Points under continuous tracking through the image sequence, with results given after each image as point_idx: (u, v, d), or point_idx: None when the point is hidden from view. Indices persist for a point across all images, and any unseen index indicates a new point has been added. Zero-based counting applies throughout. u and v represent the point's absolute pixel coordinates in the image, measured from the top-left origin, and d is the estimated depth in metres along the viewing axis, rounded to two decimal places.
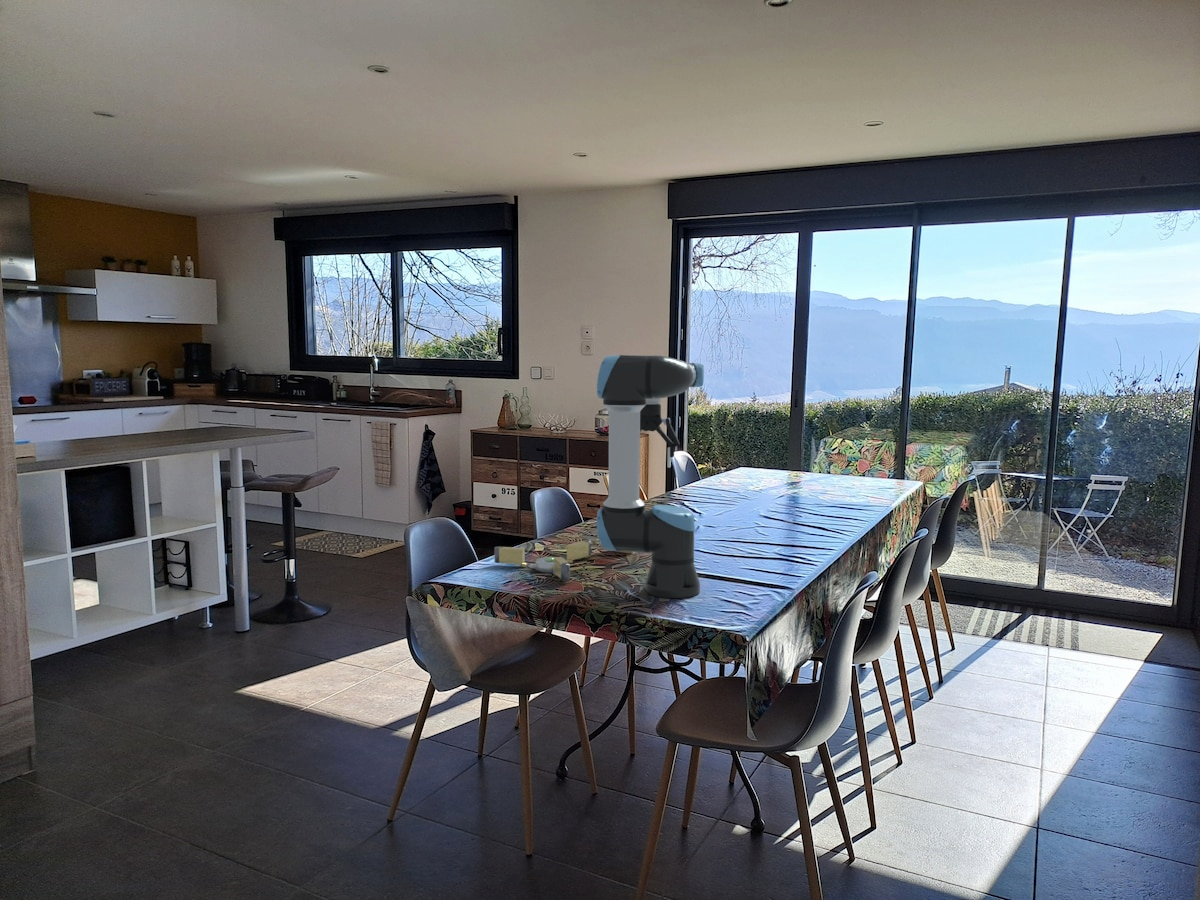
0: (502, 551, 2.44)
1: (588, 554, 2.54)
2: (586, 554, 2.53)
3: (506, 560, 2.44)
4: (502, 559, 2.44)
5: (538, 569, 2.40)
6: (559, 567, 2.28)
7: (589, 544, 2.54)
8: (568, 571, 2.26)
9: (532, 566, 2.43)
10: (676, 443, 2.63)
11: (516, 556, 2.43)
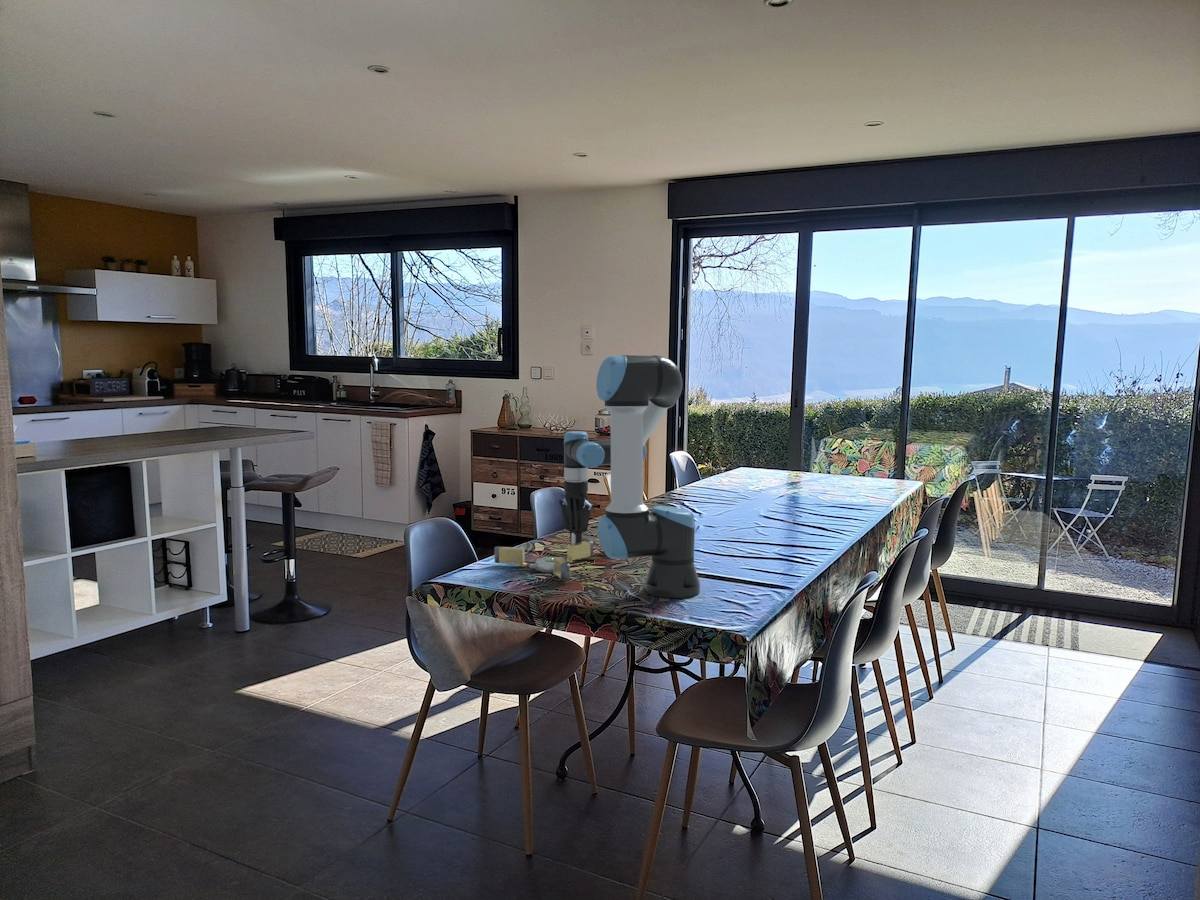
0: (502, 551, 2.44)
1: (590, 555, 2.53)
2: (587, 555, 2.52)
3: (506, 560, 2.44)
4: (502, 559, 2.44)
5: (538, 569, 2.40)
6: (559, 567, 2.28)
7: (591, 545, 2.53)
8: (568, 571, 2.26)
9: (532, 566, 2.43)
10: (580, 530, 2.51)
11: (516, 556, 2.43)
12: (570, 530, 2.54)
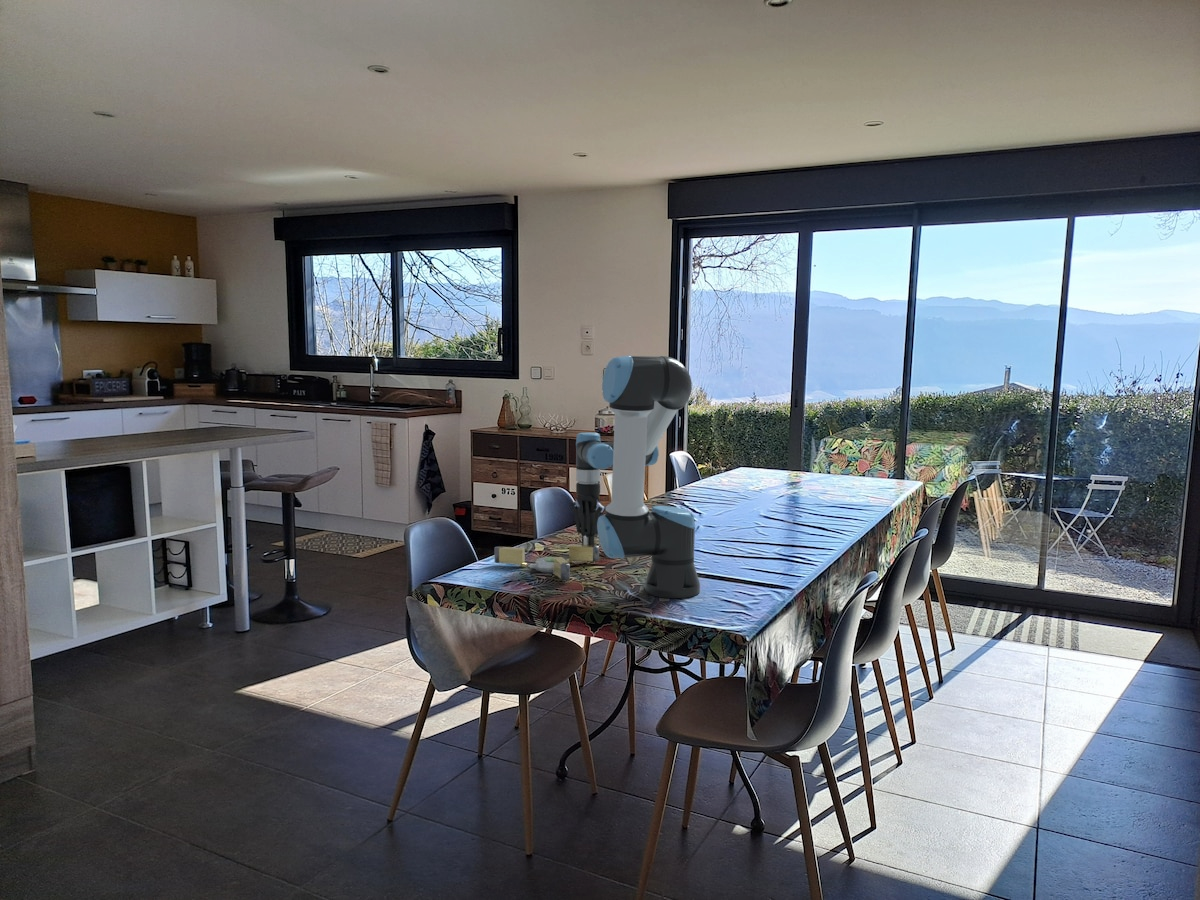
0: (502, 551, 2.44)
1: (592, 560, 2.47)
2: (589, 559, 2.47)
3: (506, 560, 2.44)
4: (502, 559, 2.44)
5: (538, 569, 2.40)
6: (559, 567, 2.28)
7: (593, 550, 2.46)
8: (568, 571, 2.26)
9: (532, 566, 2.43)
10: (592, 532, 2.47)
11: (516, 556, 2.43)
12: (582, 533, 2.50)
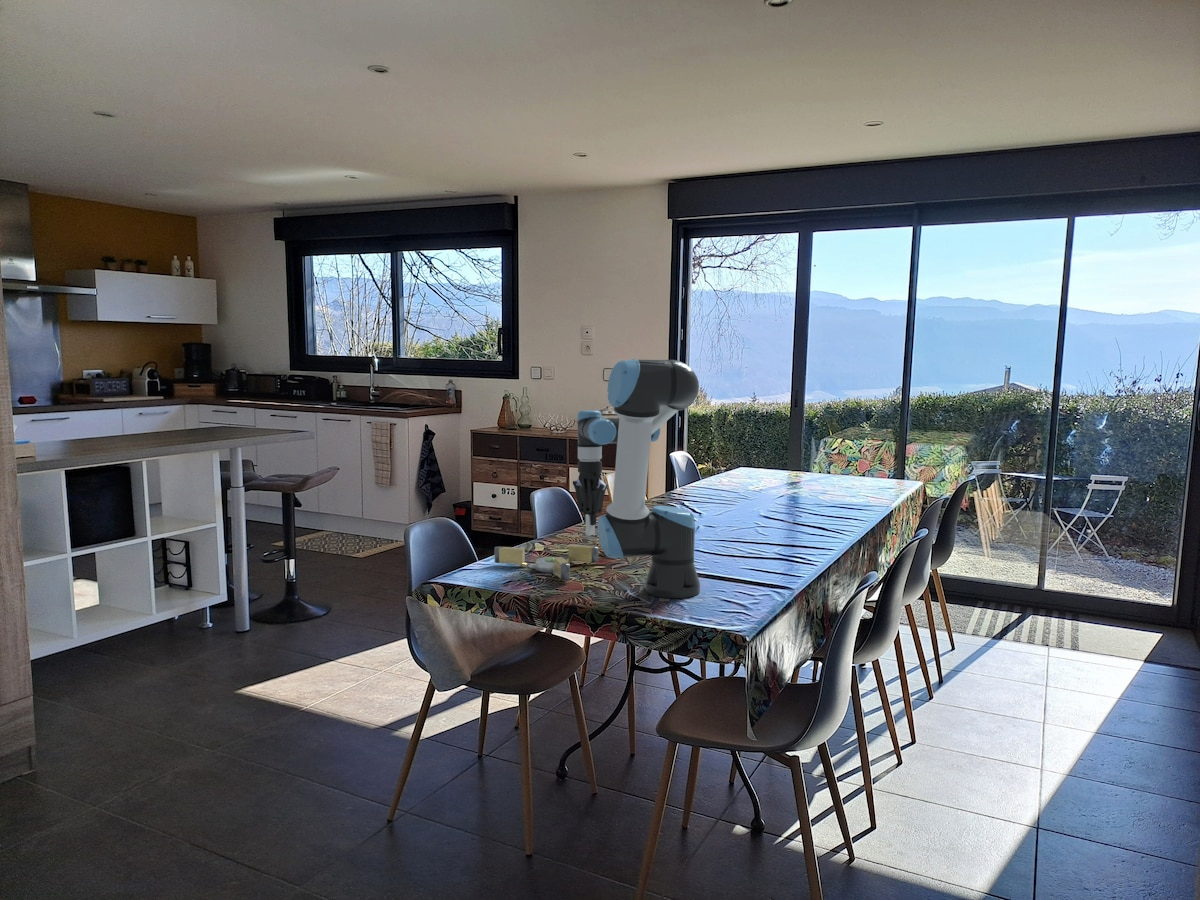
0: (502, 551, 2.44)
1: (591, 560, 2.46)
2: (588, 560, 2.46)
3: (506, 560, 2.44)
4: (502, 559, 2.44)
5: (538, 569, 2.40)
6: (559, 567, 2.28)
7: (592, 550, 2.45)
8: (568, 571, 2.26)
9: (532, 566, 2.43)
10: (594, 510, 2.46)
11: (516, 556, 2.43)
12: (584, 511, 2.49)
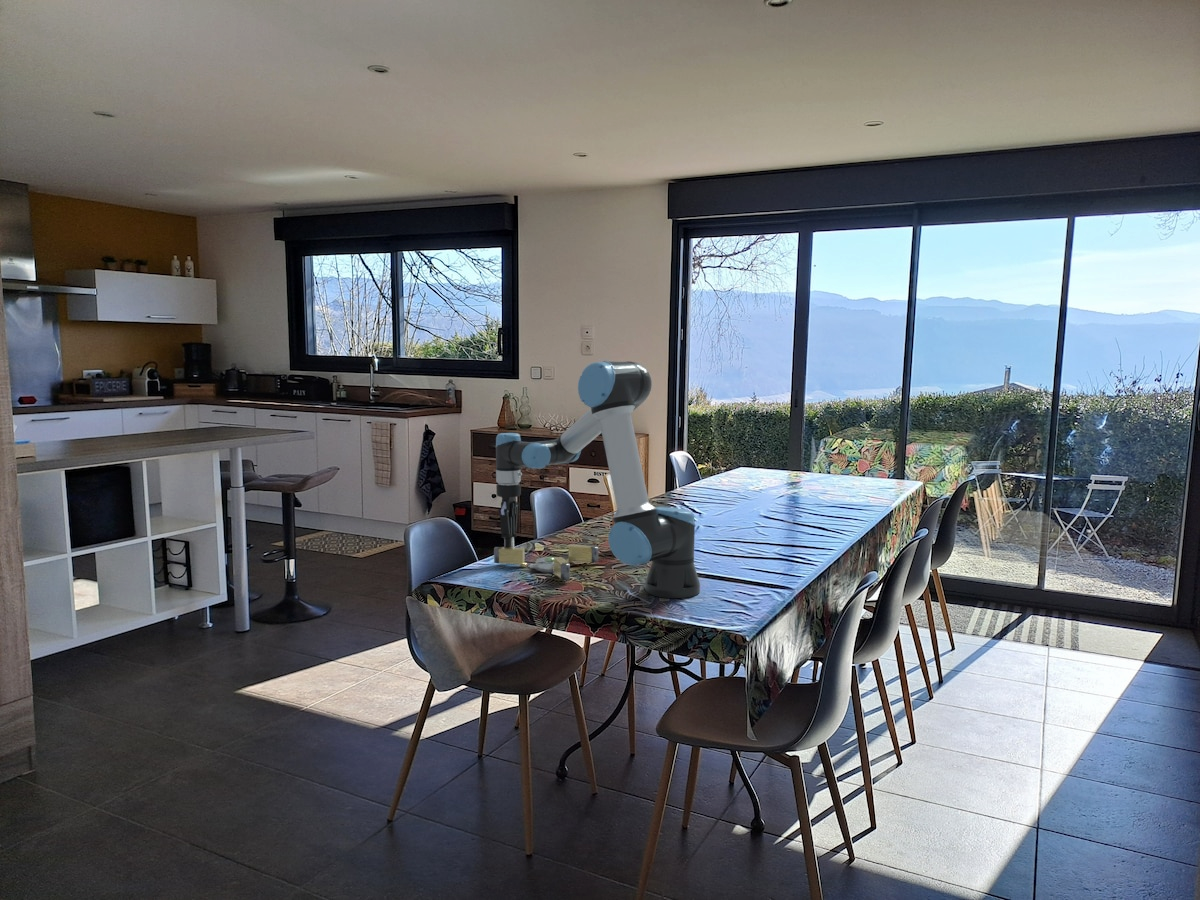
0: (502, 551, 2.44)
1: (591, 560, 2.46)
2: (588, 560, 2.46)
3: (506, 560, 2.44)
4: (502, 559, 2.44)
5: (538, 569, 2.40)
6: (559, 567, 2.28)
7: (592, 550, 2.45)
8: (568, 571, 2.26)
9: (532, 566, 2.43)
10: None
11: (516, 556, 2.43)
12: None
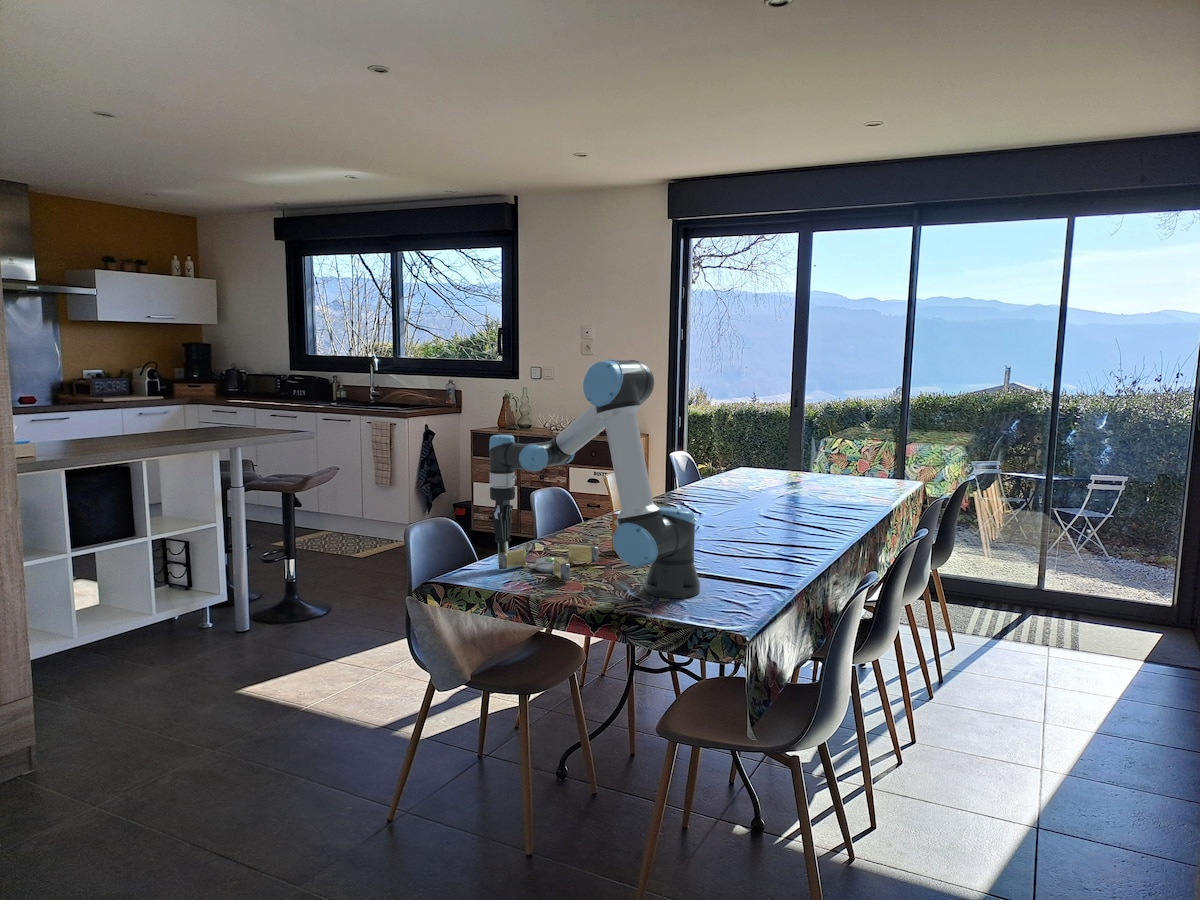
0: (509, 555, 2.39)
1: (591, 560, 2.46)
2: (588, 560, 2.46)
3: (512, 564, 2.40)
4: (510, 563, 2.39)
5: (538, 569, 2.40)
6: (559, 567, 2.28)
7: (592, 550, 2.45)
8: (568, 571, 2.26)
9: (532, 566, 2.43)
10: None
11: (521, 557, 2.42)
12: None
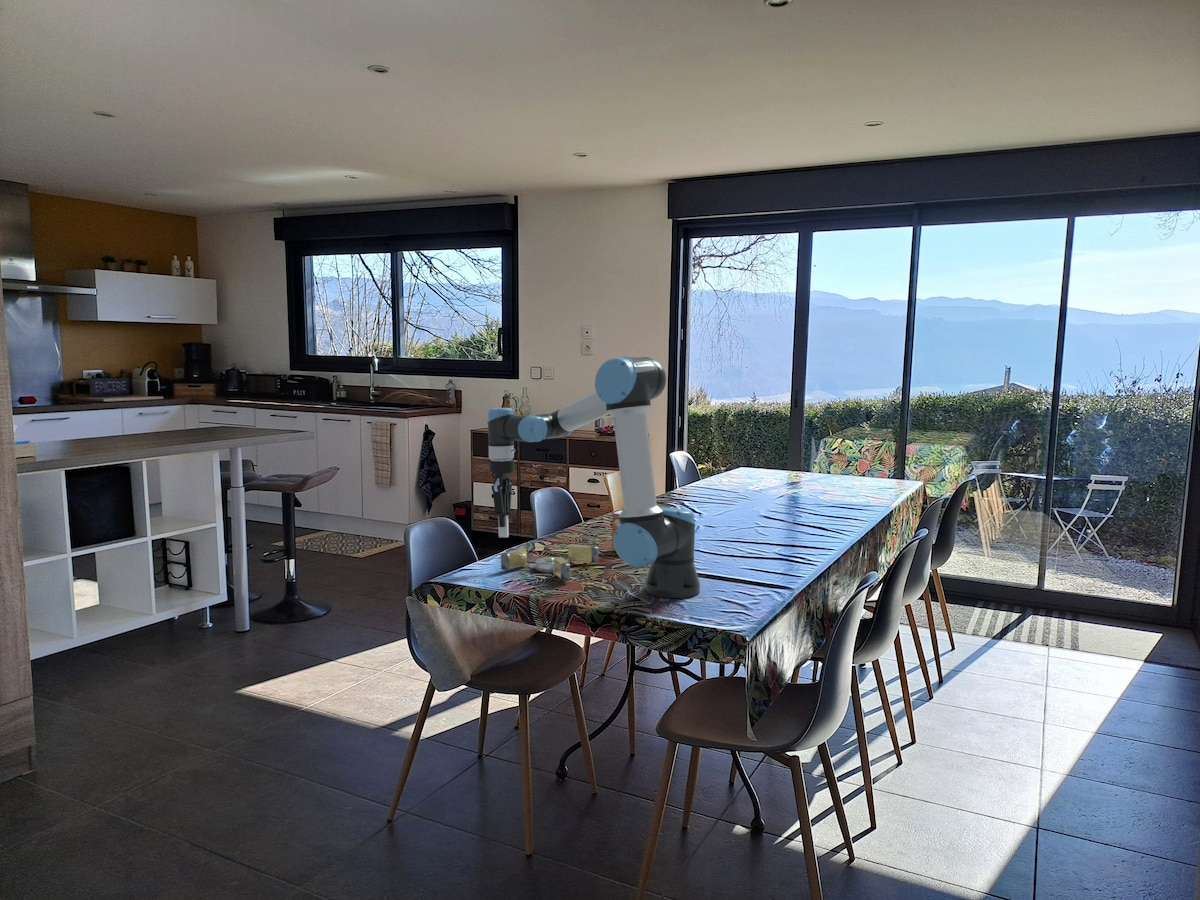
0: (511, 556, 2.38)
1: (591, 560, 2.46)
2: (588, 560, 2.46)
3: (514, 564, 2.40)
4: (512, 564, 2.39)
5: (538, 569, 2.40)
6: (559, 567, 2.28)
7: (592, 550, 2.45)
8: (568, 571, 2.26)
9: (532, 566, 2.43)
10: None
11: (522, 557, 2.42)
12: None
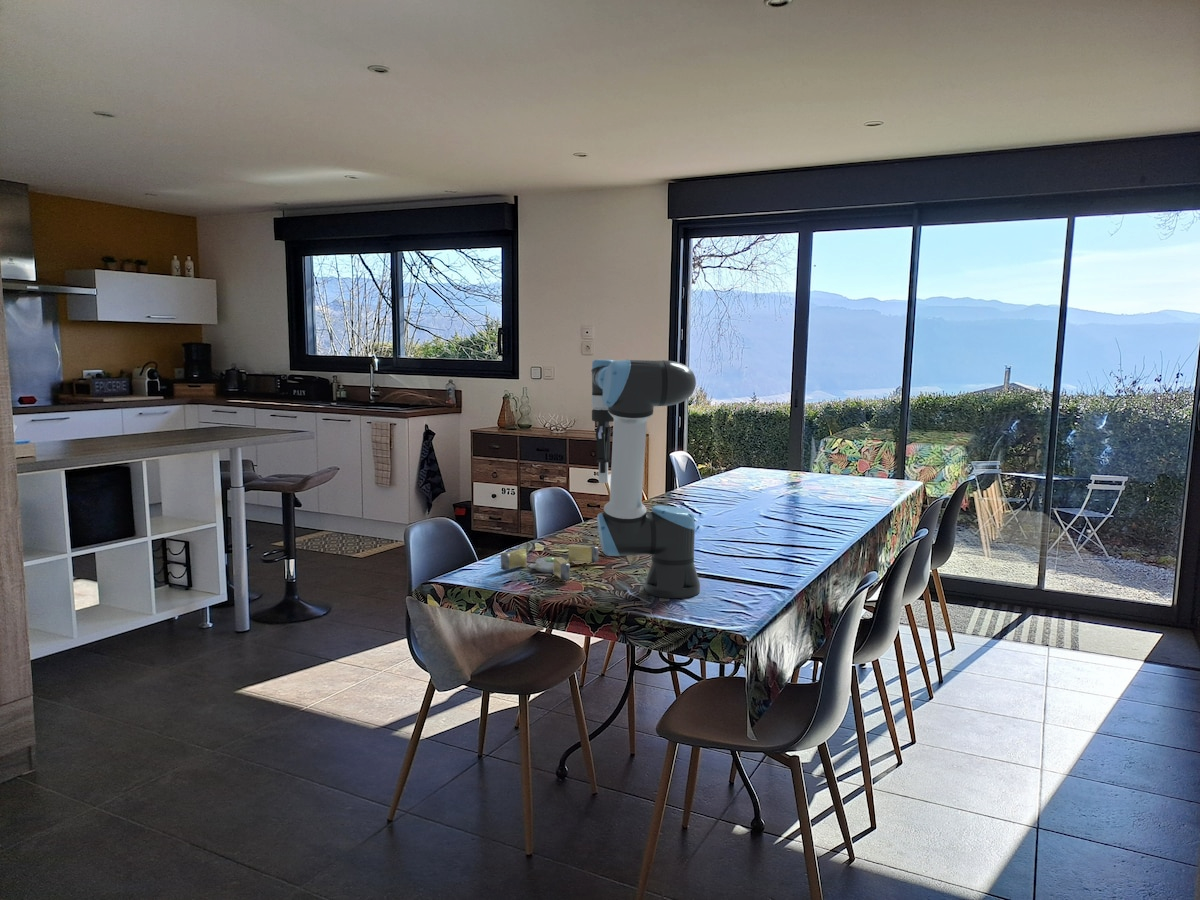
0: (511, 556, 2.38)
1: (591, 560, 2.46)
2: (588, 560, 2.46)
3: (514, 564, 2.40)
4: (512, 564, 2.39)
5: (538, 569, 2.40)
6: (559, 567, 2.28)
7: (592, 550, 2.45)
8: (568, 571, 2.26)
9: (532, 566, 2.43)
10: None
11: (522, 557, 2.42)
12: None
